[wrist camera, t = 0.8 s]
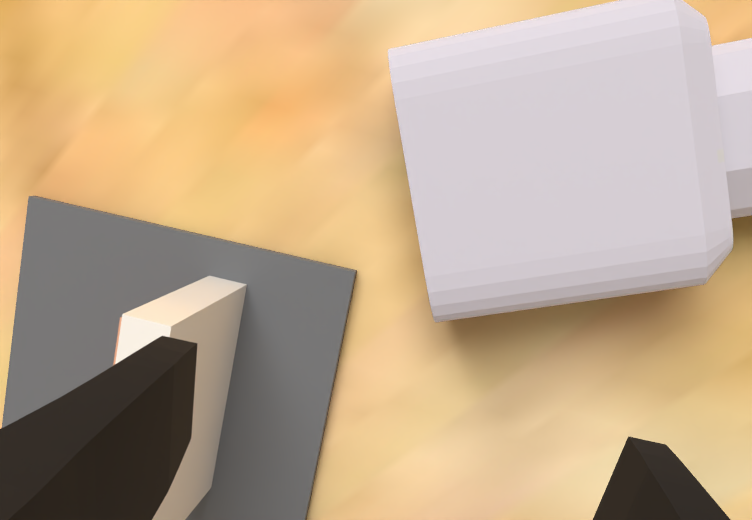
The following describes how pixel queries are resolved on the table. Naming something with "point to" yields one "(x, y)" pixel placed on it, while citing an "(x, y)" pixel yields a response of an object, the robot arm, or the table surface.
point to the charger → (574, 155)
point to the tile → (213, 372)
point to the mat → (252, 355)
